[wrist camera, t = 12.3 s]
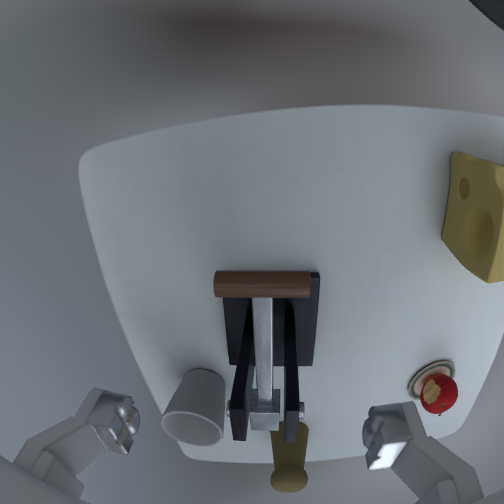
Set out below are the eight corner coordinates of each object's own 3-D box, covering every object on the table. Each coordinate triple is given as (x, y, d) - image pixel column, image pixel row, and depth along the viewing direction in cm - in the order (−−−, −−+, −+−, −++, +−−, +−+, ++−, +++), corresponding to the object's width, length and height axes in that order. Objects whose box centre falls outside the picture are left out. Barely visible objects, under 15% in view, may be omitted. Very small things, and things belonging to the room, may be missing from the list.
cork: (278, 443, 43) (276, 498, 33) (264, 425, 41) (259, 485, 31) (313, 435, 41) (316, 492, 31) (301, 417, 40) (302, 478, 29)
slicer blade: (218, 261, 17) (210, 284, 15) (308, 261, 17) (312, 285, 14) (237, 406, 23) (233, 429, 21) (296, 407, 23) (296, 430, 21)
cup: (231, 365, 37) (220, 416, 29) (234, 412, 40) (226, 458, 32) (174, 359, 37) (154, 406, 29) (184, 406, 41) (170, 450, 33)
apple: (402, 401, 38) (413, 433, 32) (413, 364, 35) (429, 397, 29) (445, 391, 37) (459, 420, 31) (459, 354, 34) (478, 383, 28)
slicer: (222, 272, 32) (185, 369, 18) (318, 272, 31) (343, 372, 17) (230, 358, 36) (209, 458, 22) (311, 359, 35) (320, 461, 21)
